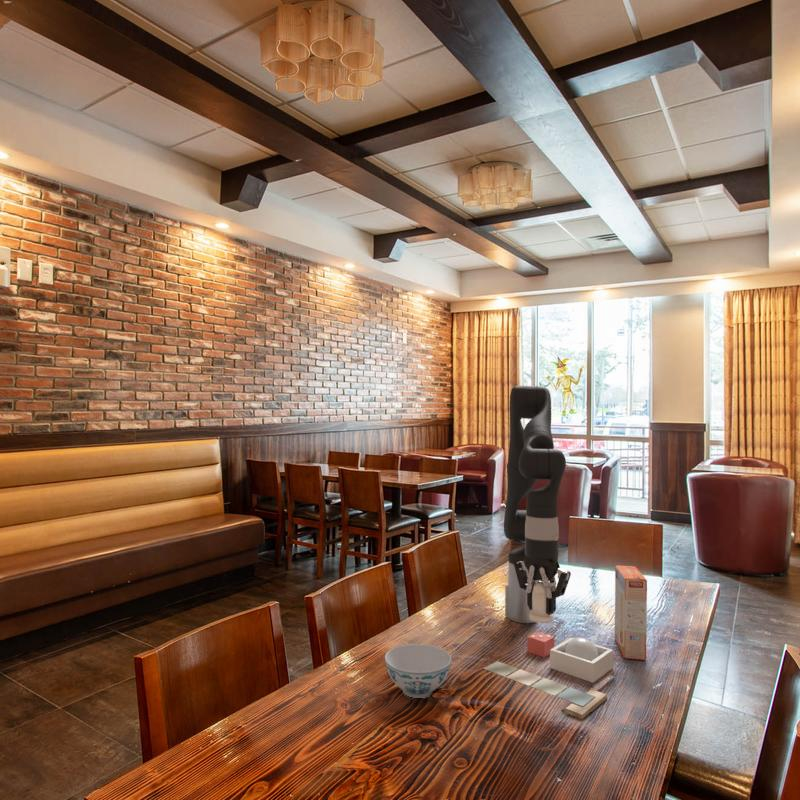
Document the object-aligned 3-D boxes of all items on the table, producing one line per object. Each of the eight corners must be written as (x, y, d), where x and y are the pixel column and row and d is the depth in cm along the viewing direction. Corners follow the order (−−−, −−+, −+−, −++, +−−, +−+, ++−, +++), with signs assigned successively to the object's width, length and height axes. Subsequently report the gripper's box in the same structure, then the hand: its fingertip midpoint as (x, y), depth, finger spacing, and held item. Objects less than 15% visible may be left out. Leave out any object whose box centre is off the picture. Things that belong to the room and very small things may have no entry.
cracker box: (647, 661, 147) (648, 579, 147) (623, 659, 148) (623, 577, 148) (636, 640, 160) (636, 565, 161) (614, 638, 162) (614, 564, 162)
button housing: (549, 672, 140) (550, 649, 140) (571, 659, 148) (571, 637, 148) (593, 687, 132) (593, 663, 132) (613, 672, 140) (613, 649, 140)
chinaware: (460, 684, 133) (460, 651, 133) (436, 715, 119) (437, 677, 119) (401, 671, 139) (401, 639, 139) (372, 699, 126) (373, 663, 126)
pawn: (524, 619, 131) (525, 581, 131) (537, 613, 134) (537, 577, 135) (545, 624, 127) (545, 586, 127) (557, 619, 131) (557, 582, 131)
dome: (558, 671, 140) (558, 638, 140) (573, 661, 145) (574, 629, 146) (589, 682, 134) (590, 648, 134) (604, 671, 140) (604, 638, 140)
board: (471, 675, 137) (471, 670, 137) (499, 660, 146) (499, 655, 146) (582, 719, 118) (581, 713, 118) (606, 699, 127) (606, 693, 127)
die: (527, 656, 149) (527, 636, 149) (537, 650, 153) (537, 631, 153) (544, 661, 146) (544, 641, 146) (554, 656, 149) (554, 636, 149)
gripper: (506, 533, 134) (505, 607, 133) (561, 542, 124) (561, 623, 123) (523, 529, 139) (523, 601, 139) (578, 538, 129) (578, 615, 129)
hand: (541, 611), depth 131 cm, fingers closed on pawn, 4 cm apart
